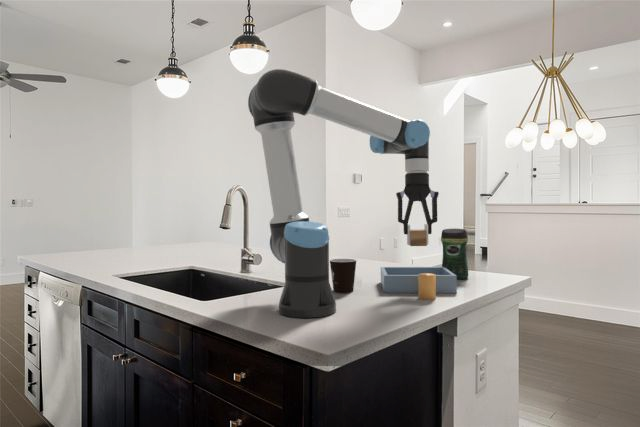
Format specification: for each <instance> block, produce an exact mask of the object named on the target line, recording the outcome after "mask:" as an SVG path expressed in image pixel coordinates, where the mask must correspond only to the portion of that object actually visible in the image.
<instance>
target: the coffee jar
mask: <svg viewBox="0 0 640 427" xmlns="http://www.w3.org/2000/svg"><path fill="white" fill-rule="evenodd" d="M468 240H469V238H468V231H467V230H466V228H465V229H464V228H445V229H442V231H441V236H440V241H441V244H442V260H441V267H445V268H446V269H448V270H449V271H451V272H452V273H454V274H455V275H456V276H457V280H464V279H467V278H469V266H468V257H467V243H468Z"/></svg>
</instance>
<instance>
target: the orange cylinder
mask: <svg viewBox="0 0 640 427" xmlns="http://www.w3.org/2000/svg"><path fill="white" fill-rule="evenodd" d="M417 294H418V299H419V298H420V300H424V301H425V300H426V301H427V300H428V301H432V300H436V299H437V293H436V275H435V274H431V273H421V274H418V293H417Z"/></svg>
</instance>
